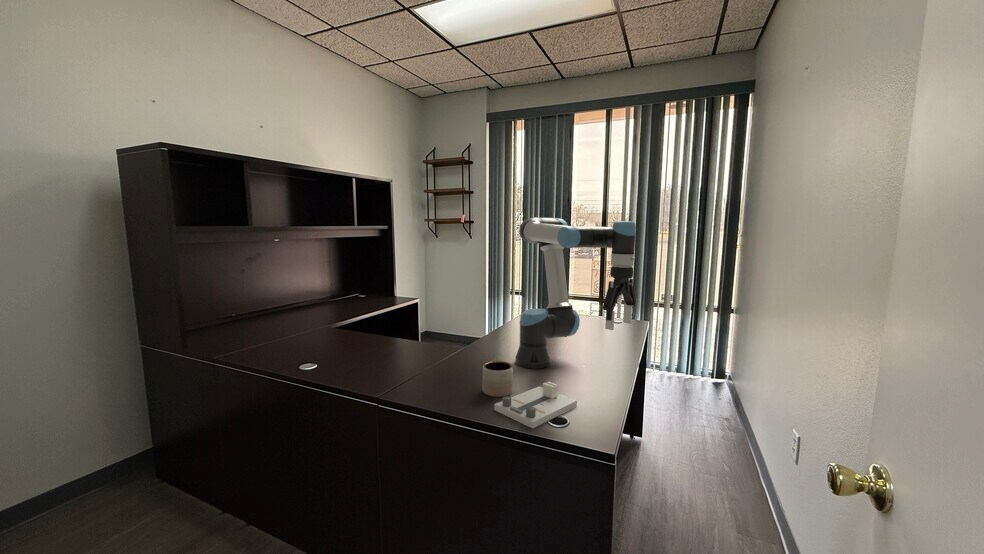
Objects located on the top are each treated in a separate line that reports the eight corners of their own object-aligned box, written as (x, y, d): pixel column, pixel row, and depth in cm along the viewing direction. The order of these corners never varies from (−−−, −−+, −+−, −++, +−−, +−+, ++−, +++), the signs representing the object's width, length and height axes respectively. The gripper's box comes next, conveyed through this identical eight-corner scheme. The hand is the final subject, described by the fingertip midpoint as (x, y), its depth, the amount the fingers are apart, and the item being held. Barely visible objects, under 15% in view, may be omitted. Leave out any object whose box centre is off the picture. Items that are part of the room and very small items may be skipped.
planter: (481, 386, 144) (481, 360, 143) (510, 385, 145) (511, 360, 144) (483, 398, 134) (483, 371, 132) (514, 397, 134) (515, 370, 133)
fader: (542, 395, 131) (542, 383, 131) (548, 392, 133) (548, 381, 133) (551, 398, 128) (552, 386, 128) (557, 396, 130) (557, 384, 130)
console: (494, 410, 125) (494, 397, 124) (539, 391, 140) (539, 380, 139) (532, 428, 113) (533, 414, 113) (576, 406, 128) (577, 394, 128)
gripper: (615, 269, 124) (611, 334, 127) (647, 265, 142) (643, 322, 144) (594, 267, 129) (591, 330, 132) (627, 263, 147) (624, 318, 150)
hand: (618, 326), depth 138 cm, fingers open, 13 cm apart
